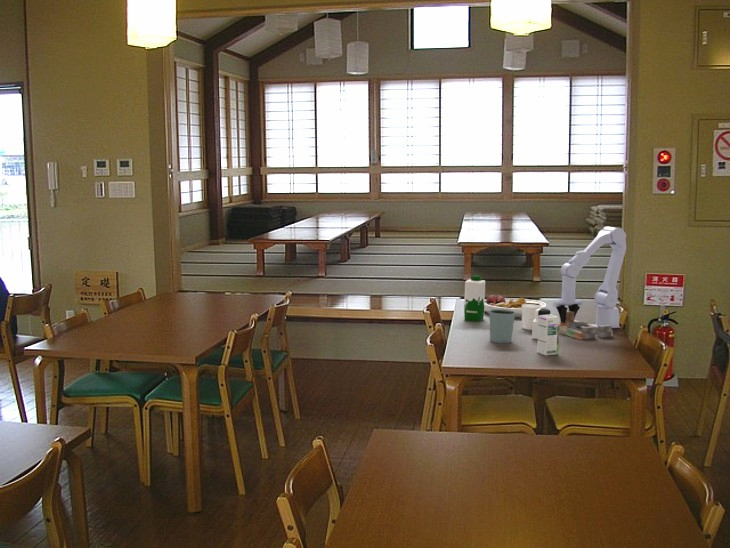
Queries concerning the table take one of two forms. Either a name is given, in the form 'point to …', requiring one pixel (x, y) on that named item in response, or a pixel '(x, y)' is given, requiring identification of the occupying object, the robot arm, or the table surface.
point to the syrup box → (548, 334)
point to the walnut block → (569, 317)
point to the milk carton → (474, 299)
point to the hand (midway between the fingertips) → (567, 322)
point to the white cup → (528, 315)
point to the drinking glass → (501, 325)
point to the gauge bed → (588, 331)
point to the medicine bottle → (535, 323)
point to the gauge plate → (575, 325)
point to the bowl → (509, 304)
